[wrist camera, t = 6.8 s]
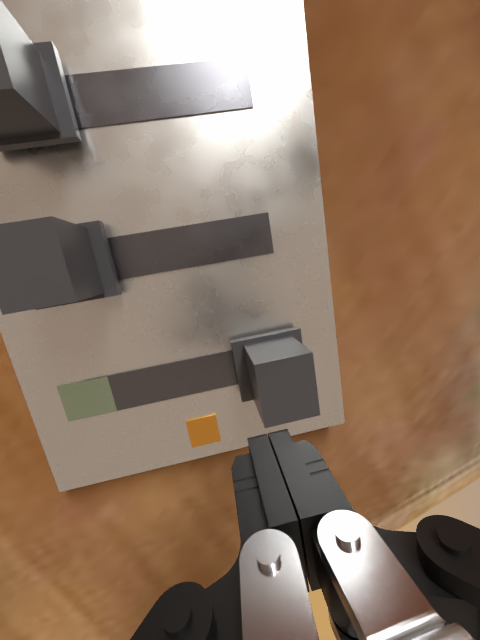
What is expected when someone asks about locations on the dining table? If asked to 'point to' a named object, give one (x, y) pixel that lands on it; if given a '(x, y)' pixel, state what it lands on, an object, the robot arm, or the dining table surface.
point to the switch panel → (173, 229)
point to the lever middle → (54, 264)
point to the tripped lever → (277, 376)
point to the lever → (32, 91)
